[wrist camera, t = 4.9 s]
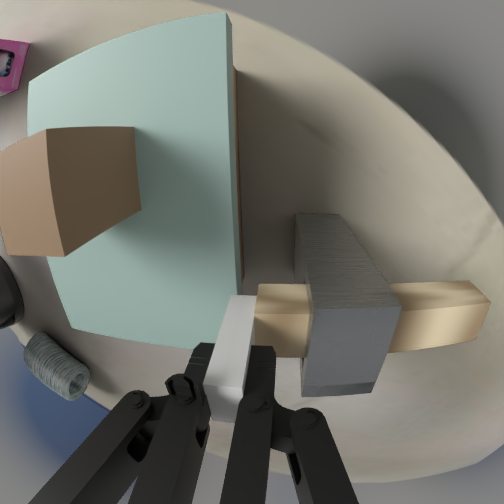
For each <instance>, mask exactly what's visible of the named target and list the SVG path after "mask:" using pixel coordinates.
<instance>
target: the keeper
mask: <svg viewBox="0 0 504 504" xmlns="http://www.w3.org/2000/svg"><path fill="white" fill-rule="evenodd" d="M294 278H295V284H306V291H307V297H308V304H309V322H308V331H307V340H306V348H305V356H304V358H300V370H301V395H302V397H321V396H340V395H353V394H364V393H371V391H372V389H373V387H374V385H375V382H376V380H377V377H378V375H379V372H380V370H381V367H382V365H383V362H384V360H385V357H386V354H387V352H388V349H389V346H390V343H391V340H392V337H393V334H394V331H395V328H396V325H397V322H398V318H399V315H400V312H401V308H402V305H401V304H400V302H399V300H398V299H397V297H396V296H395V294H394V293H393V291H392V289H391V288H390V286H389V285H388V283H387V282H386V280H385V279H384V277H383V276H382V274H381V273H380V271H379V270H378V268H377V267H376V265H375V264H374V262H373V261H372V259H371V258H370V257H369V255H368V254H367V252H366V251H365V250H364V248H363V247H362V245H361V244H360V243H359V241H358V240H357V238H356V237H355V236H354V234H353V233H352V232H351V230H350V229H349V228H348V226H347V225H346V224H345V222H344V221H343V220H342V218H341V217H340V216H339V214H296V227H295V260H294Z"/></svg>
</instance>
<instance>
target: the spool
mask: <svg viewBox="0 0 504 504" xmlns="http://www.w3.org/2000/svg"><path fill="white" fill-rule="evenodd" d="M24 361H25V363H26V365H27V366H28V368H29V369H30V370H31V372H32V373H33V374H34V375H35V376H36V377H37V378H38V379H39V380H40V381H41V382H42V383H44V384H45V385H47V386H48V387H49V388H50V389H52V390H53V391H54V392H56V393H58V394H59V395H61V396H62V397H64V398H65V399H67V400H71V401H74V400H77V399H78V398H79V397H80V396H81V395H82V394H83V393H84V391H85V390H86V388H87V385H88V383H89V379H90V372H89V369H88V368H87V367H86V366H85V365H84V364H82V363H80V362H79V361H78V360H76V359H74V358H73V357H72V356H71V355H70V354H68V353H67V352H66V351H65V350H64V349H62V348H61V347H60V346H59V345H58V344H57V343H55V342H54V341H53V340H52V339H51V338H50V337H49V336H48V335H47V334H45V333H37V334H35V335H34V336H33V337H32V338H31V339H30V340H29V342H28V344H27V345H26V347H25V349H24Z"/></svg>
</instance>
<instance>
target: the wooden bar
mask: <svg viewBox="0 0 504 504" xmlns="http://www.w3.org/2000/svg"><path fill="white" fill-rule="evenodd" d="M388 285H389V286H390V288H391V289H392V291H393V293H394V294H395V296H396V297H397V299H398V300H399V302H400V304H401V305H402V308H401V312H400V315H399V318H398V322H397V325H396V328H395V331H394V334H393V337H392V340H391V343H390V346H389V349H388V352H387V353H394V352H403V351H411V350H418V349H425V348H432V347H438V346H444V345H450V344H455V343H460V342H465V341H470V340H475V338H476V336H477V334H478V332H479V330H480V328H481V325H482V323H483V321H484V319H485V316H486V314H487V311H488V309H489V306H490V304H491V302H490V301H489V300H488V299H487V297H486V296H485V295H484V294H483V293H482V292H481V291H480V290H479V289H478V288H477V287H476V286H475V285H474V284H472V283H471V282H470V281H469V280H466V281H446V282H422V283H388ZM308 322H309V304H308V297H307V291H306V284H259V285H258V291H257V298H256V304H255V310H254V330H255V345H261V346H273V348H274V350H275V352H276V357H288V358H304V356H305V348H306V340H307V331H308Z"/></svg>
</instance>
